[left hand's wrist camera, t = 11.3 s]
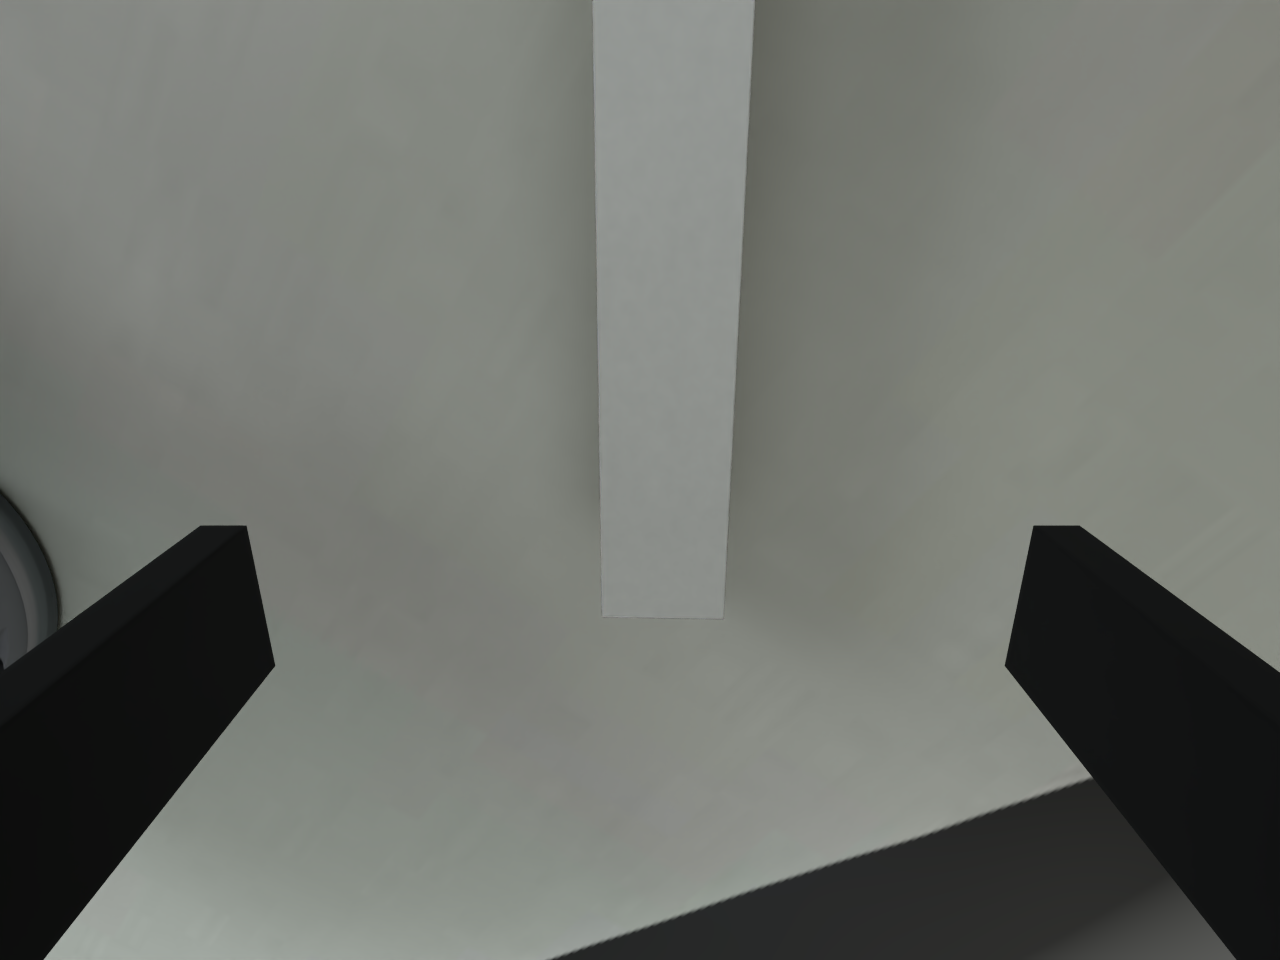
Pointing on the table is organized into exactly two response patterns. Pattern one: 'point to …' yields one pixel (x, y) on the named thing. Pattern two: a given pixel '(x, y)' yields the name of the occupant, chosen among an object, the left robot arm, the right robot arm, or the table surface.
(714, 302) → the bar
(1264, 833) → the left robot arm
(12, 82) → the table surface
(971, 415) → the table surface
